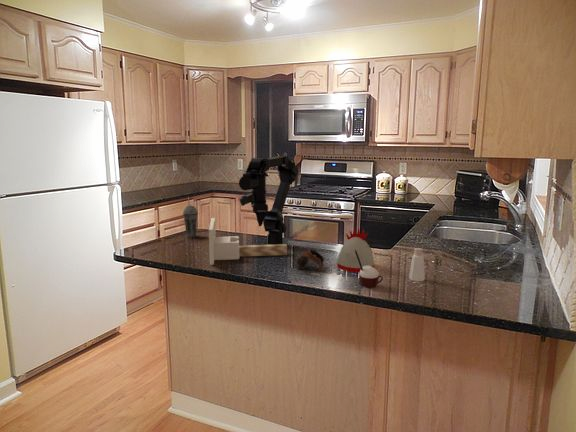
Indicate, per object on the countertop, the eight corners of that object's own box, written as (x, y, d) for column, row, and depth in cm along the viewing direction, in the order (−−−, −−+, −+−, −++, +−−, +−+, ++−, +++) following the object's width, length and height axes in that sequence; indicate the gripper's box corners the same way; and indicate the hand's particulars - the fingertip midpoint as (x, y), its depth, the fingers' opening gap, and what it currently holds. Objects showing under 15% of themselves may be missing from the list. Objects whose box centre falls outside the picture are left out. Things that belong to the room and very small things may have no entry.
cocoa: (382, 285, 141) (386, 250, 139) (379, 291, 136) (383, 255, 134) (354, 280, 145) (357, 247, 143) (350, 285, 139) (353, 250, 137)
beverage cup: (201, 235, 211) (200, 196, 208) (192, 238, 205) (191, 198, 201) (190, 234, 214) (188, 195, 211) (180, 237, 208) (179, 197, 204)
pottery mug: (302, 264, 165) (313, 247, 163) (319, 279, 160) (331, 262, 158) (285, 264, 155) (297, 246, 153) (303, 280, 150) (315, 261, 148)
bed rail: (285, 252, 181) (285, 240, 180) (287, 256, 175) (287, 244, 174) (232, 253, 178) (232, 242, 178) (232, 258, 172) (232, 246, 171)
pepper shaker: (418, 282, 143) (420, 251, 141) (405, 278, 147) (407, 248, 145) (428, 279, 146) (430, 249, 144) (415, 275, 150) (416, 245, 148)
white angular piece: (238, 248, 187) (238, 217, 185) (239, 263, 164) (239, 228, 161) (212, 248, 186) (211, 217, 183) (209, 264, 162) (208, 229, 160)
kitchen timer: (371, 273, 152) (373, 233, 150) (334, 270, 156) (335, 231, 154) (375, 263, 166) (376, 226, 163) (340, 260, 169) (341, 223, 167)
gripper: (239, 185, 186) (240, 220, 188) (240, 190, 167) (241, 229, 170) (264, 185, 187) (264, 219, 190) (268, 190, 169) (268, 228, 172)
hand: (259, 224), depth 180 cm, fingers open, 9 cm apart
